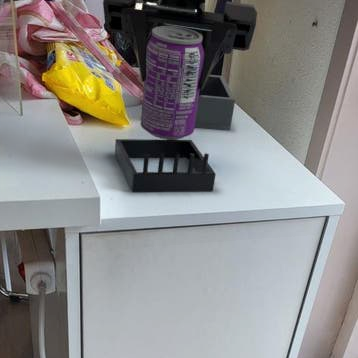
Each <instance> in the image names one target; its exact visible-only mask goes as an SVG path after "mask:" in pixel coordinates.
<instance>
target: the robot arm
mask: <svg viewBox="0 0 358 358" xmlns="http://www.w3.org/2000/svg"><path fill="white" fill-rule="evenodd" d="M102 6H103V7H102V8H103V16H104V18H103V19H104V27H105V29H106V31H109V32H112V33H118V34H119V33H120V34H122V35H121V36H122V38H123V39H124V40H127V41H130V44H131V46H132V48H133V52H134V54H135V57H136V61H137V65H138V71H139V75H140V80H141V82H143V83H144V82H145V72H146V52H147V33H146V27H147V26H146V25H147V24H146V23H147V22H151V23H156V27H159V26H175V27H182V28H187V29H190V30H193V31H196V32H198V33H200V34H201V35H202V36H203V38H202V42H201V43H202V47H203V50H204V60H203V67H202V72H201V78H200V86H199V89H200V90H202V89H203V87H204V85H205V83H206V81H207V79H208V77H209V75H211V73H212V71H213V69H214V68H215V66H216V65H217V64H218V62H219V61H220V59H221V58H222V57H223V55H229V54H232V51H233V50H235V51H243V52H245V51H248V50H250V47H251V43H252V40H253V37H254V33H255V29H256V26H257V19H258V18H257V17H258V10H257V9H256V7H255V6H254V5H253V4H247V3H241V2H233V1H227V0H226V2H225V6H224V11H223V13H218V12H211V11H205V10H206V0H158V3H157V2H156V3H155V2H151V1H146V0H103V1H102Z"/></svg>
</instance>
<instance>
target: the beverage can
mask: <svg viewBox="0 0 358 358" xmlns="http://www.w3.org/2000/svg"><path fill="white" fill-rule="evenodd" d="M202 38H203V36H202V35H201V34H200V33H198V32H196V31H193V30H190V29H187V28H182V27H175V26H159V27H157V26H156V27H154V28H152V29H151V37H150V38H149V41H148V43H147V44H146V72H145V82H143V90H142V102H141V114H140V115H141V116H140V127H141V128H142V129H143V130H144V131H146V132H148V133H149V134H150V135H151V136H153V137H155V138H157V139H160V140H182V139H183V138H185V137H189V136H191V135H192V134H193V133H194V132H195V128H196V127H195V119H196V112H197V105H198V97H199V90H200V89H199V86H200V78H201V72H202V68H203V64H204V60H205V54H204V50H203V47H202V43H201V42H202Z"/></svg>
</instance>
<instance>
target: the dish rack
mask: <svg viewBox="0 0 358 358" xmlns="http://www.w3.org/2000/svg"><path fill="white" fill-rule="evenodd" d="M209 157H210V154H209V153H204V154H202V152H201V151H200V150H199V148H198V146H197V145H196V144H195V143H194V141H193V140H192V139H177V140H167V139H149V138H148V139H143V138H142V139H140V138H138V139H137V138H135V139H133V138H127V139H126V138H116V139H115V143H114V158H115V160H116V162H117V164H118V166H119V168H120V170H121V172H122V175H123V177H124V178H125V181H126V183H127V185H128V187H129V189H130V190H131V192H132V193H171V192H172V193H173V192H175V193H179V192H180V193H181V192H186V193H187V192H213V191H214V187H215V181H216V175H217V174H216V172H215V170H214V169H213V168H212V166H211V165H210V164H209ZM131 159H143V166H142V171H137V169H136V168H135V166H134V163H133V162H132V160H131ZM150 159H158V167H157V171H148V170H149V160H150ZM165 159H173V165H172V166H173V167H172V171H164V161H165ZM180 159H187V161H188V162H187V163H188V165H187V170H186V171H178V169H179V161H180ZM193 170H194V171H193Z"/></svg>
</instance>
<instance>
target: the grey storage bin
mask: <svg viewBox="0 0 358 358" xmlns="http://www.w3.org/2000/svg"><path fill="white" fill-rule="evenodd" d="M235 103H236V99H235V97H234V95H233V92H232V91H231V89H230V87H229V85H228V82H227V81H226V79H225V77H224V76H223V75H215V74H210V75H209V77H208V79H207V81H206V83H205V85H204V87H203V89H202V90H199V97H198V105H197V112H196V119H195V127H194V128H197V129H200V128H201V129H210V130H211V129H212V130H221V131H222V130H223V131H224V130H225V131H230V130H231V127H232V122H233V116H234V110H235Z"/></svg>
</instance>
